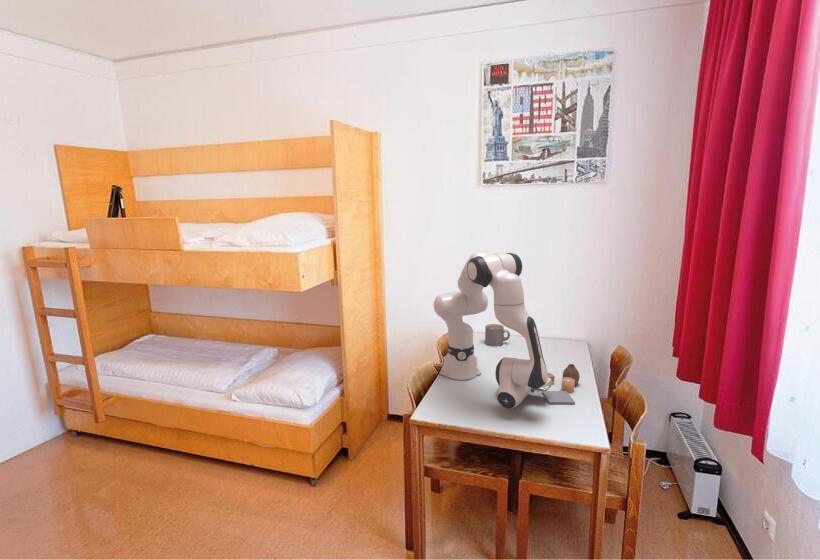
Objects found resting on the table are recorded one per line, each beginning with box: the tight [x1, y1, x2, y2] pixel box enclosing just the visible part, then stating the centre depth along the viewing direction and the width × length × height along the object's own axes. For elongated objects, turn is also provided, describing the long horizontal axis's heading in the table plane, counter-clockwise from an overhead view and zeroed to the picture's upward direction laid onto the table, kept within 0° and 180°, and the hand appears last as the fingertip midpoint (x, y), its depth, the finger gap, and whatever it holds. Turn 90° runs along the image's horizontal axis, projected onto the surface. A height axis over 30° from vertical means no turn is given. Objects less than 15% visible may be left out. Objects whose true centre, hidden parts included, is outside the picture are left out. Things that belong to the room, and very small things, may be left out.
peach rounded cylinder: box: [560, 376, 575, 394], centre depth 180 cm, size 5×5×5 cm
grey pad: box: [541, 390, 576, 406], centre depth 173 cm, size 10×10×1 cm
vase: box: [562, 363, 581, 387], centre depth 186 cm, size 7×7×9 cm
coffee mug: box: [484, 323, 511, 348], centre depth 238 cm, size 13×10×10 cm
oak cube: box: [548, 372, 555, 386], centre depth 187 cm, size 4×4×4 cm
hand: (531, 373), depth 181 cm, fingers open, 8 cm apart
